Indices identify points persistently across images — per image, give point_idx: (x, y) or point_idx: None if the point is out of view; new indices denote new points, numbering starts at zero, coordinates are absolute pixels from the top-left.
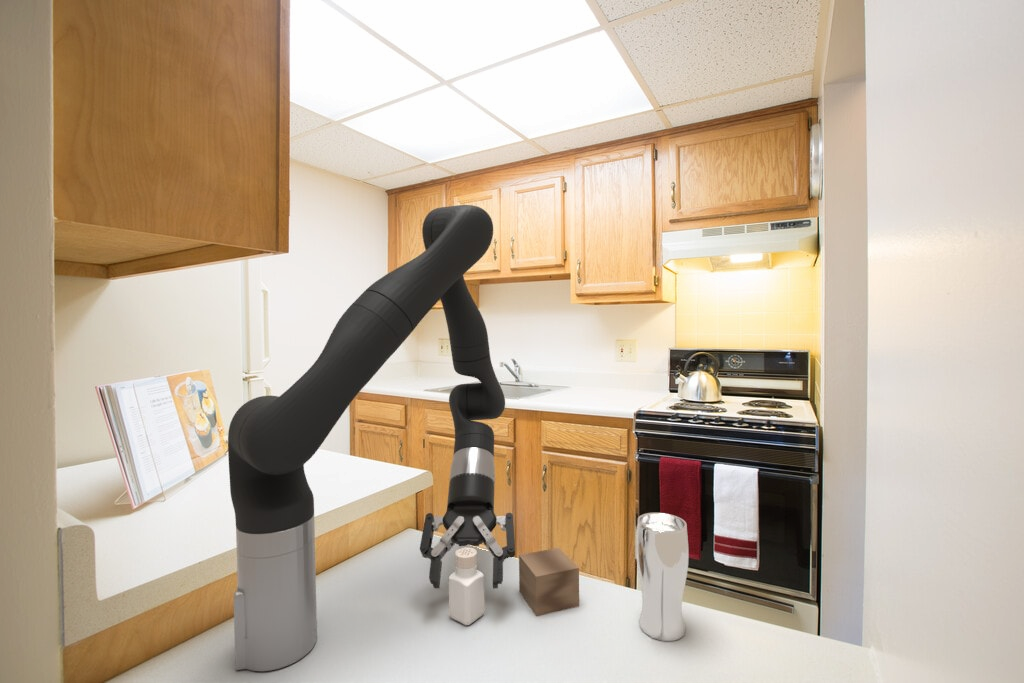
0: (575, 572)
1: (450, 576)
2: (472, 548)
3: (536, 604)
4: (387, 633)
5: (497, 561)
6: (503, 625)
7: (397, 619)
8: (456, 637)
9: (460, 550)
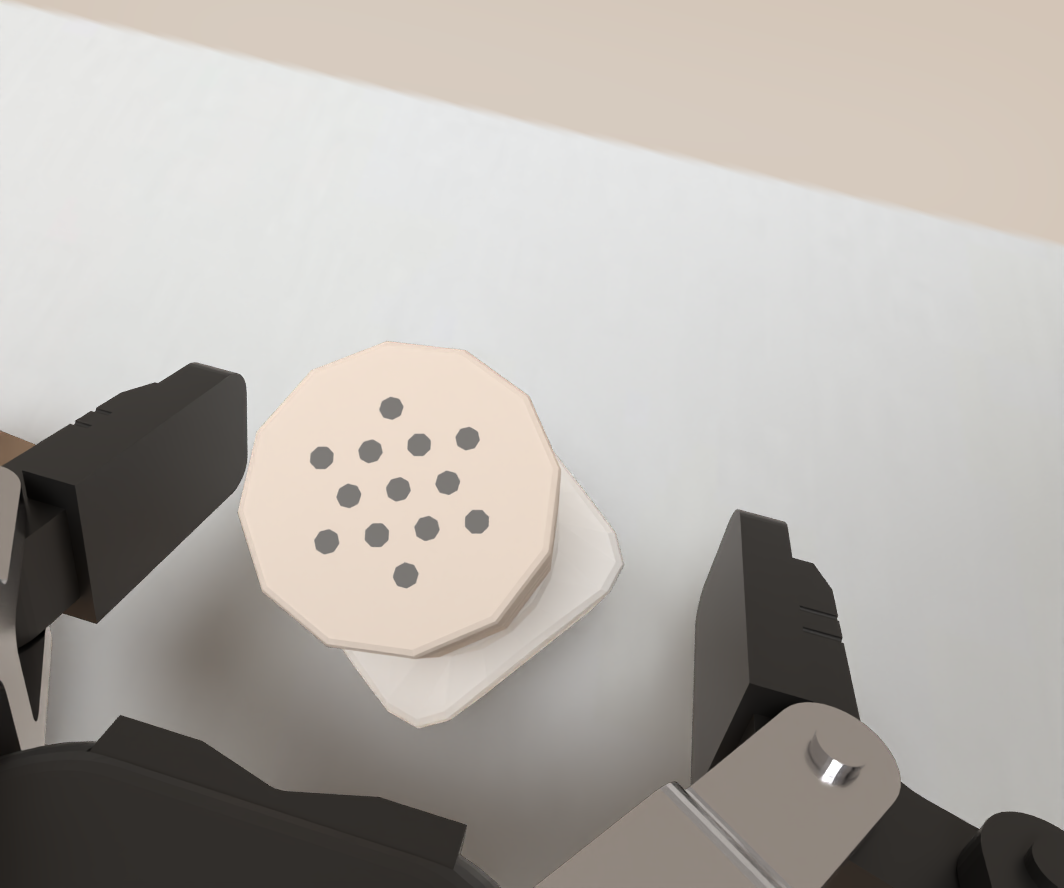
0: None
1: (605, 569)
2: (277, 579)
3: (10, 436)
4: (994, 542)
5: (61, 450)
6: None
7: (947, 678)
8: (577, 394)
9: (468, 565)
